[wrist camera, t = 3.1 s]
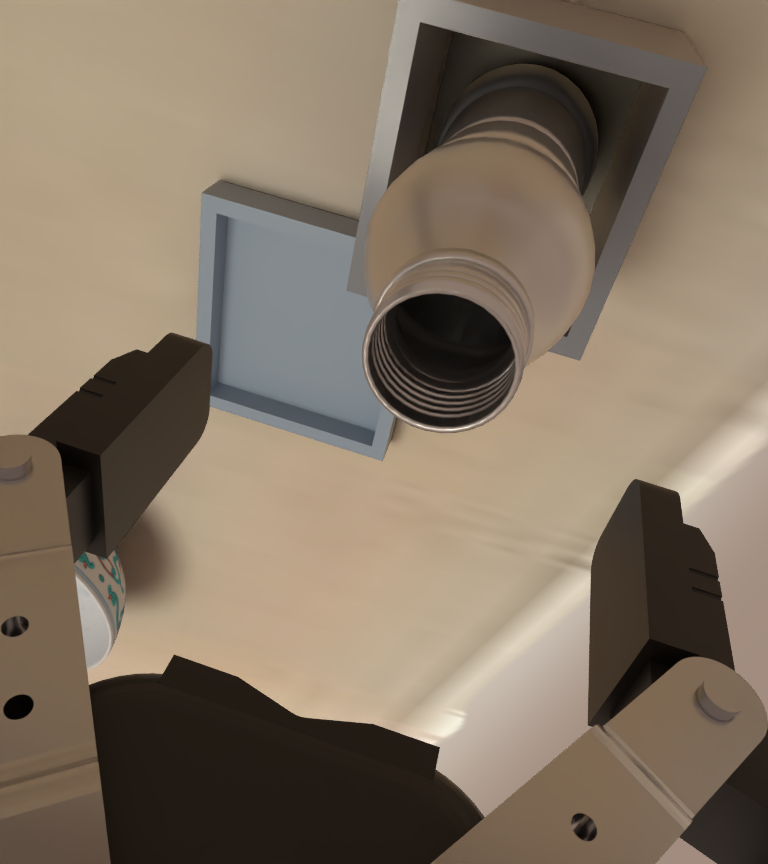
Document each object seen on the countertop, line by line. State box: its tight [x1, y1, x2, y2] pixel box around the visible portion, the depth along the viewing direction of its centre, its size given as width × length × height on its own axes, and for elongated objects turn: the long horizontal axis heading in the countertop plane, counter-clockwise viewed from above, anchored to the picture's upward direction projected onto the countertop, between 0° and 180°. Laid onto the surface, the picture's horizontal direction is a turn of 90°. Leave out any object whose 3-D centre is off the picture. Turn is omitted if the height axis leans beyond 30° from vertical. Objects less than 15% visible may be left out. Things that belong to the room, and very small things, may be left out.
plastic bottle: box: [362, 64, 598, 433], centre depth 23 cm, size 6×7×20 cm
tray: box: [196, 180, 396, 461], centre depth 39 cm, size 13×12×2 cm
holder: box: [346, 0, 707, 360], centre depth 28 cm, size 11×10×8 cm
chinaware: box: [74, 548, 126, 670], centre depth 52 cm, size 15×15×8 cm
